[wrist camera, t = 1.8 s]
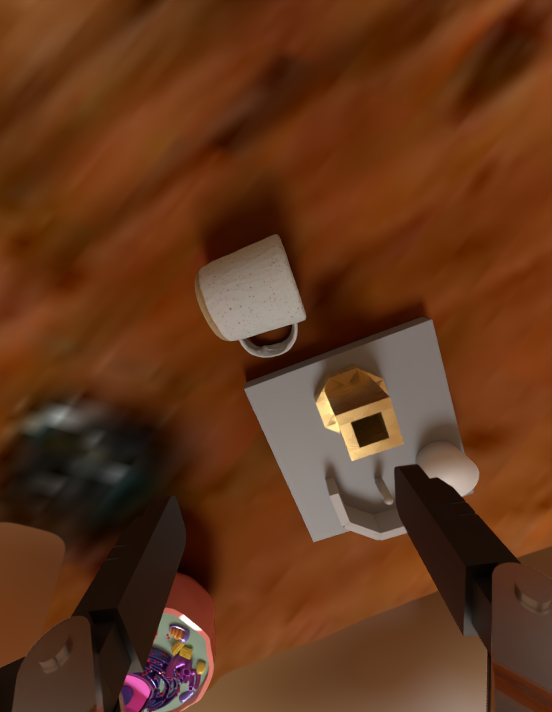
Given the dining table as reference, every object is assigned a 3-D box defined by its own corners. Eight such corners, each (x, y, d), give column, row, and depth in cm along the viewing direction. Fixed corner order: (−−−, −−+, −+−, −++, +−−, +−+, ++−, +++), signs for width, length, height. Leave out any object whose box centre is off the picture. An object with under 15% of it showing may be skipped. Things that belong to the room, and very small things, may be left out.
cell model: (256, 575, 38) (248, 693, 27) (179, 652, 42) (146, 780, 32) (151, 516, 36) (96, 621, 25) (80, 604, 40) (7, 727, 29)
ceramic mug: (202, 270, 27) (176, 268, 20) (278, 238, 27) (280, 225, 19) (243, 364, 30) (234, 392, 23) (313, 338, 29) (327, 358, 22)
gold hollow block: (372, 356, 28) (400, 378, 21) (390, 414, 29) (421, 450, 23) (307, 380, 28) (316, 408, 22) (328, 435, 30) (342, 476, 24)
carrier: (421, 316, 29) (454, 324, 23) (462, 480, 34) (497, 517, 29) (246, 382, 31) (240, 403, 25) (311, 527, 36) (317, 570, 31)
